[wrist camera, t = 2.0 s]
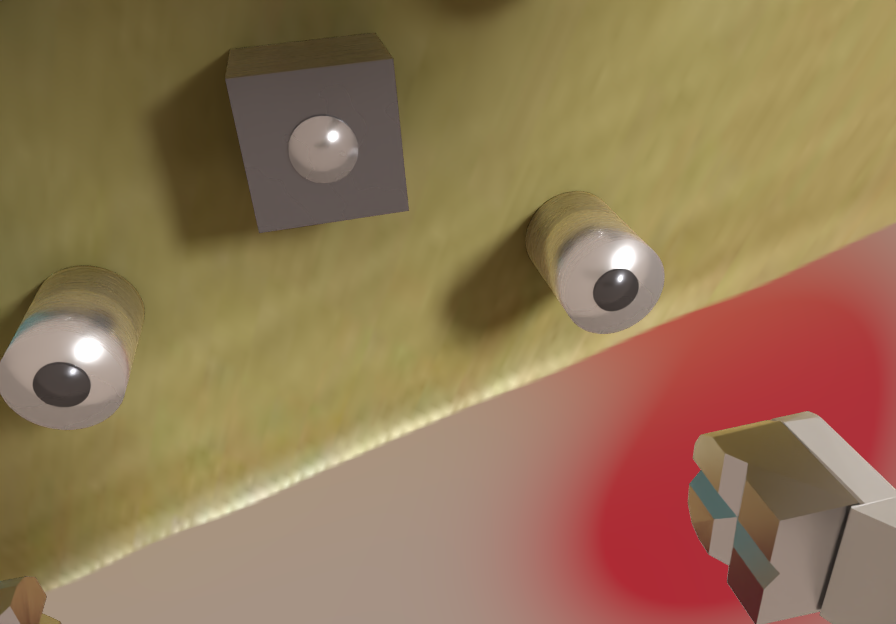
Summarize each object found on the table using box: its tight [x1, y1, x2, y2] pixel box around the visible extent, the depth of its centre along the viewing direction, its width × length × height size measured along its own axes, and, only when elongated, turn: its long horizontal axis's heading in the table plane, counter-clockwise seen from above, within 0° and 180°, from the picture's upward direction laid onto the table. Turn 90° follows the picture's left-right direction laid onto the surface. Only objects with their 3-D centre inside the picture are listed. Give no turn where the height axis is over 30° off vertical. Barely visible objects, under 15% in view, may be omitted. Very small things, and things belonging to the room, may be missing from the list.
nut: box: [225, 33, 409, 233], centre depth 23 cm, size 5×5×4 cm
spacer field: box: [0, 0, 664, 430], centre depth 22 cm, size 22×20×5 cm
